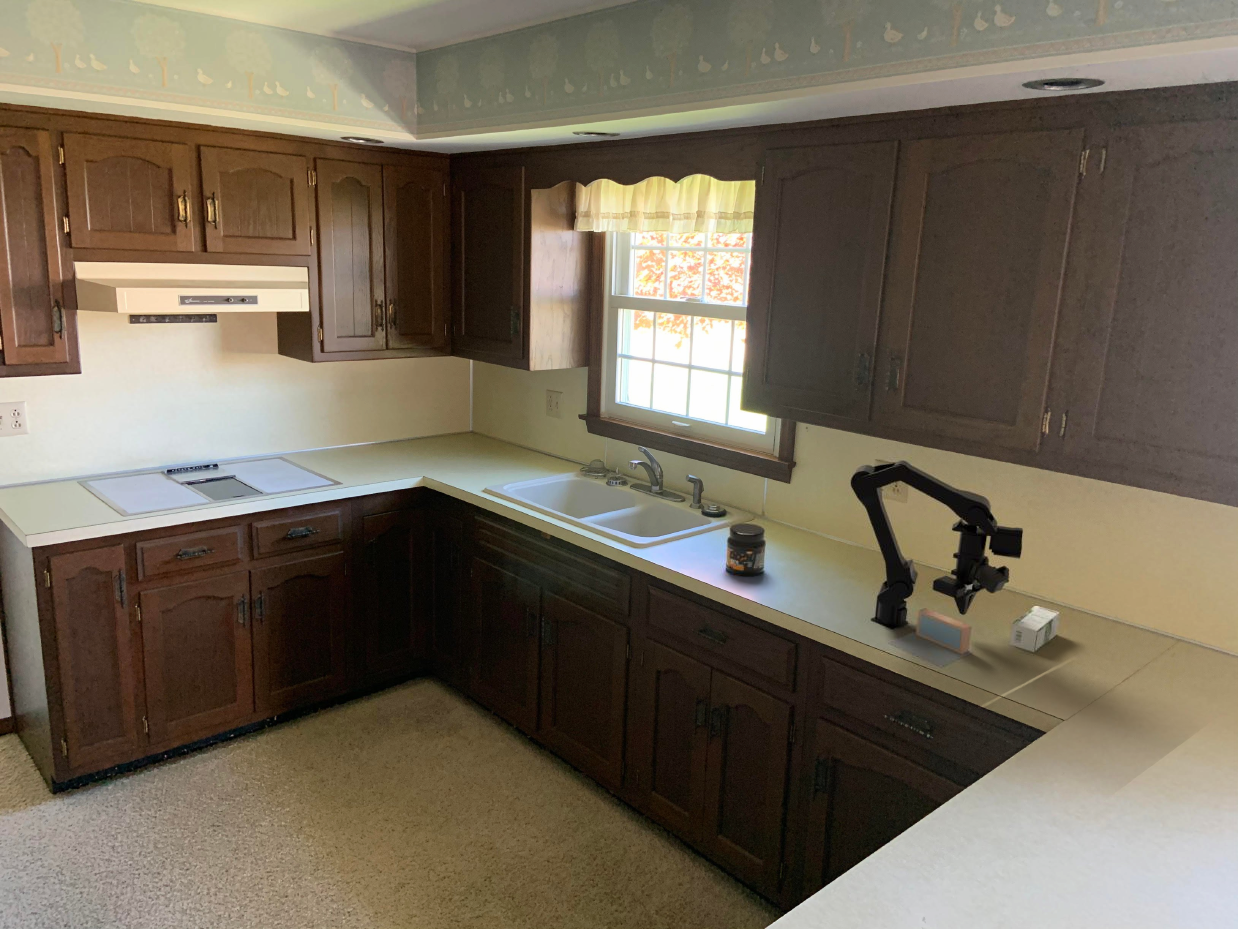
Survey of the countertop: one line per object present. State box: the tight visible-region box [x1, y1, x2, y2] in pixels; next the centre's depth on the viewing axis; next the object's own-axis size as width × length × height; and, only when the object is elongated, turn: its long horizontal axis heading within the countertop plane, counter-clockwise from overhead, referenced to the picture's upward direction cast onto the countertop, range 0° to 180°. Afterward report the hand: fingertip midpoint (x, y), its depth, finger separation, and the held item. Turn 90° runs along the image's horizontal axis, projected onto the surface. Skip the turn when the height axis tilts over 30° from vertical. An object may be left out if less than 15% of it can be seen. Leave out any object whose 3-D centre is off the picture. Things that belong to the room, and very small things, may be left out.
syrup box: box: [1009, 605, 1060, 653], centre depth 209 cm, size 6×6×14 cm
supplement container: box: [725, 522, 767, 577], centre depth 246 cm, size 10×10×12 cm
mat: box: [887, 630, 973, 668], centre depth 204 cm, size 14×12×1 cm
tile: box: [915, 607, 972, 654], centre depth 206 cm, size 12×3×6 cm, turn 37°
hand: (962, 614), depth 210 cm, fingers closed
